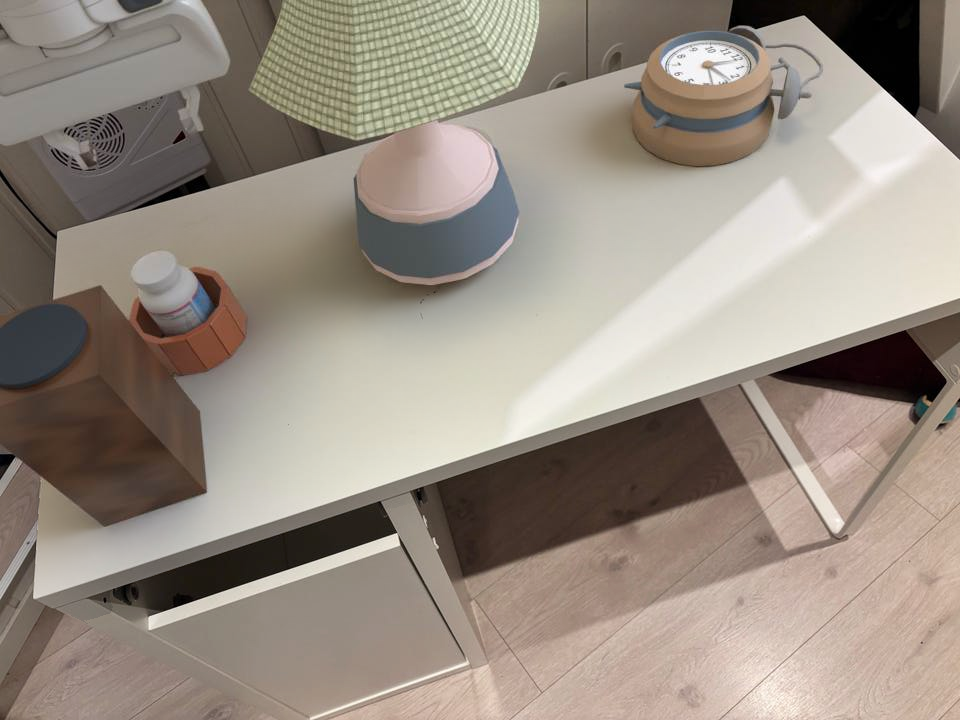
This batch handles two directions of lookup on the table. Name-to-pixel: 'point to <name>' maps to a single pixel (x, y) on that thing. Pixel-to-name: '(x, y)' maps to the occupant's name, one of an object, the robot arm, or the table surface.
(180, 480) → the riser
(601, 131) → the table surface
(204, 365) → the desk pot
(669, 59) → the alarm clock
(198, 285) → the pill bottle
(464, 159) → the desk lamp
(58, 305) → the coaster
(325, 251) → the table surface
